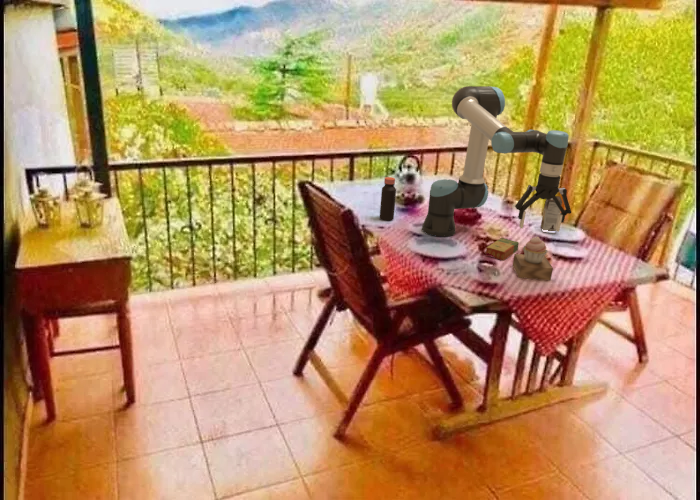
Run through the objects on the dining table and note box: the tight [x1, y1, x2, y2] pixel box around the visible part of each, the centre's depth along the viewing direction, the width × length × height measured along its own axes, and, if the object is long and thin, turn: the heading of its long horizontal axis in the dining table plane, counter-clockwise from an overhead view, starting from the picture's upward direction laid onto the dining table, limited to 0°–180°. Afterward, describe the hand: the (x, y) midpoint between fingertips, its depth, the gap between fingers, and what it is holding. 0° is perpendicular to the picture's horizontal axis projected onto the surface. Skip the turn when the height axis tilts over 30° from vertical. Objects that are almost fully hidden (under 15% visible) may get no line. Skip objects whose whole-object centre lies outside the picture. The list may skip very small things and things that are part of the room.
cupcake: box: [522, 236, 549, 264], centre depth 217 cm, size 9×9×10 cm
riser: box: [512, 253, 554, 281], centre depth 220 cm, size 12×12×5 cm
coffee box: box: [540, 195, 563, 232], centre depth 266 cm, size 9×6×16 cm
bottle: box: [379, 176, 397, 222], centre depth 267 cm, size 7×7×20 cm
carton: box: [485, 237, 520, 261], centre depth 238 cm, size 8×16×4 cm, turn 144°
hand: (539, 228), depth 214 cm, fingers open, 13 cm apart
